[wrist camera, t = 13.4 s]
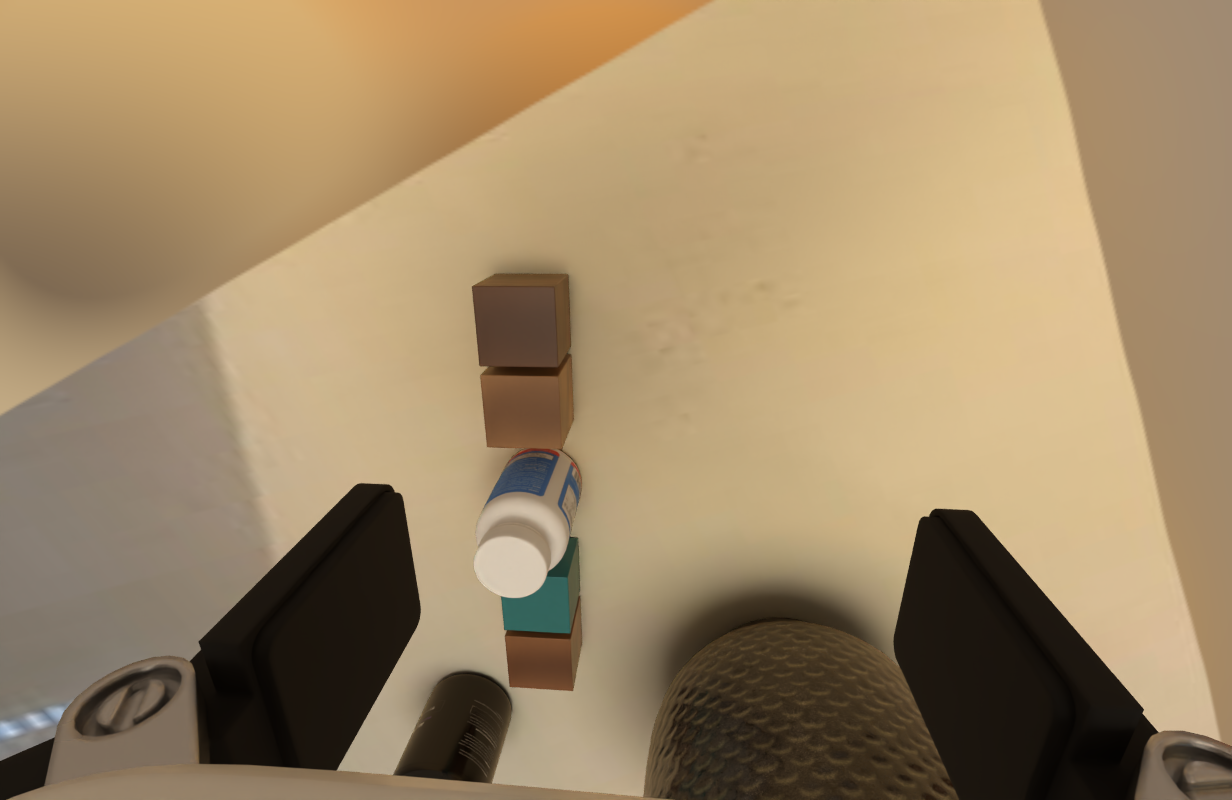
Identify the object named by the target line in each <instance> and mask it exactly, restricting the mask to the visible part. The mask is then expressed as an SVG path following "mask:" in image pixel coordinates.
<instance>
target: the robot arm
mask: <svg viewBox="0 0 1232 800" xmlns="http://www.w3.org/2000/svg"><path fill="white" fill-rule="evenodd" d="M420 613H421V606H420V600H419V593H418V587H417V581H416V575H415V569H414V563H413V557H412V550H411V544H410V538H409V532H408V526H407V520H406V514H405V508H404V501H403V497H402V495H401V494H400V493H395V492H394V489H393V488H392V486H390V485H387V484H364V483H361V484H357V485H356V486H354V487H353V488H352V489H351V490H350V491H349V492H348V493H347V494H346V495H345V496H344V497H343V498H342V499H341V500H340V501H339V502H338V503H337V504H336V505H335V506H334V507H333V508H332V509H331V510H330V511H329V512H328V513H327V514H326V515H325V516H324V517H323V518H322V519H321V520H320V521H319V522H318V523H317V524H316V525H315V526H314V527H313V528H312V529H311V530H310V531H309V532H308V533H307V534H306V535H305V536H304V537H303V538H302V539H301V540H300V541H299V542H298V543H297V544H296V545H295V546H294V547H293V548H292V549H291V550H290V551H289V552H288V553H287V554H286V555H285V556H284V557H283V558H282V559H281V560H280V561H279V562H278V563H277V564H276V565H275V566H274V567H273V568H272V569H271V570H270V571H269V572H268V573H267V574H266V575H265V576H264V577H263V578H262V579H261V580H260V581H259V582H258V583H257V584H256V585H255V586H254V587H253V588H252V589H251V590H250V591H249V592H248V593H247V594H246V595H245V596H244V597H243V598H242V599H241V600H240V601H239V602H238V603H237V604H236V605H235V606H234V607H233V608H232V609H231V610H230V611H229V612H228V613H227V614H226V615H225V616H224V617H223V618H222V619H221V620H220V621H219V622H218V623H217V624H216V625H215V626H214V627H213V628H212V629H211V630H210V631H209V632H208V633H207V634H206V635H205V636H204V637H203V638H202V639H201V640H200V641H199V644H200V647H201V650H200V651H199V652H198V653H197V654H196V656H195V657H194V658H193V659H192V660H191V661H190V662H189V661H187V660H186V659H184V658H181V657H175V656H161V657H152V658H148V659H145V660H141V661H138V662H134V663H132V664H129V665H127V666H125V667H122V668H120V669H118V670H116V671H113V672H112V673H110V674H108V675H107V676H105V677H103V678H102V679H100V680H98V681H97V682H95V683H93V684H92V685H91V686H90V687H88V688H87V689H86V690H85V691H83V692H82V693H81V694H80V695H79V696H77V697H76V698H75V699H74V701H73V702H72V703H71V704H70V705H69V706H68V708H67V709H66V710H65V711H64V713H63V715H62V717H61V719H60V721H59V724H58V726H57V730H56V735H55V738H52V739H50V740H48V741H45V742H43V743H41V744H39V745H36V746H34V747H32V748H29V749H27V750H25V751H22V752H20V753H18V754H16V755H13V756H11V757H9V758H6V759H4V760H2V761H0V800H670V799H659V798H648V797H637V796H626V795H615V794H604V793H593V792H581V791H570V790H559V789H548V788H537V787H526V786H514V785H502V784H491V783H479V782H467V781H455V780H443V779H431V778H420V777H408V776H396V775H384V774H372V773H360V772H348V771H336V770H337V769H338V767H339V765H340V763H341V761H342V760H343V758H344V756H345V754H346V753H347V751H348V749H349V747H350V745H351V744H352V742H353V740H354V738H355V736H356V735H357V733H358V731H359V729H360V728H361V726H362V724H363V722H364V720H365V719H366V717H367V715H368V713H369V712H370V710H371V708H372V706H373V704H374V703H375V701H376V699H377V697H378V696H379V694H380V692H381V690H382V688H383V687H384V685H385V683H386V681H387V679H388V678H389V676H390V674H391V672H392V671H393V669H394V667H395V665H396V663H397V662H398V660H399V658H400V656H401V655H402V653H403V651H404V649H405V647H406V646H407V644H408V642H409V640H410V639H411V637H412V635H413V633H414V631H415V630H416V628H417V625H418V623H419V619H420ZM894 652H895V656H896V659H897V662H898V664H899V666H900V668H901V671H902V673H903V675H904V677H905V679H906V682H907V684H908V686H909V688H910V691H911V693H912V695H913V697H914V700H915V702H916V704H917V706H918V709H919V711H920V713H921V715H922V718H923V720H924V722H925V724H926V727H927V729H928V731H929V733H930V735H931V738H932V740H933V742H934V744H935V747H936V749H937V751H938V753H939V756H940V758H941V760H942V762H943V765H944V767H945V769H946V771H947V774H948V776H949V778H950V780H951V782H952V785H953V787H954V789H955V791H956V794H957V796H958V798H959V800H1232V746H1230V745H1227V744H1225V743H1222V742H1220V741H1217V740H1214V739H1212V738H1209V737H1207V736H1203V735H1199V734H1194V733H1190V732H1186V731H1162V732H1160V733H1159V732H1158V731H1157V730H1156V729H1155V728H1154V727H1153V725H1152V724H1151V723H1150V722H1149V721H1148V720H1147V718H1146V717H1145V716H1144V715H1143V714H1142V713H1143V711H1144V709H1143V708H1142V707H1141V705H1140V704H1139V703H1138V702H1137V701H1136V700H1135V698H1134V697H1133V696H1132V695H1131V694H1130V693H1129V691H1128V690H1127V689H1126V688H1125V687H1124V686H1123V684H1122V683H1121V682H1120V681H1119V680H1118V679H1117V677H1116V676H1115V675H1114V674H1113V673H1112V672H1111V671H1110V669H1109V668H1108V667H1107V666H1106V665H1105V664H1104V662H1103V661H1102V660H1101V659H1100V658H1099V657H1098V655H1097V654H1096V653H1095V652H1094V651H1093V650H1092V648H1091V647H1090V646H1089V645H1088V644H1087V643H1086V641H1085V640H1084V639H1083V638H1082V637H1081V636H1080V634H1079V633H1078V632H1077V631H1076V630H1075V629H1074V628H1073V626H1072V625H1071V624H1070V623H1069V622H1068V621H1067V619H1066V618H1065V617H1064V616H1063V615H1062V614H1061V612H1060V611H1059V610H1058V609H1057V608H1056V607H1055V605H1054V604H1053V603H1052V602H1051V601H1050V600H1049V598H1048V597H1047V596H1046V595H1045V594H1044V593H1043V591H1042V590H1041V589H1040V588H1039V587H1038V586H1037V585H1036V583H1035V582H1034V581H1033V580H1032V579H1031V578H1030V576H1029V575H1028V574H1027V573H1026V572H1025V571H1024V569H1023V568H1022V567H1021V566H1020V565H1019V564H1018V562H1017V561H1016V560H1015V559H1014V558H1013V557H1012V555H1011V554H1010V553H1009V552H1008V551H1007V550H1006V548H1005V547H1004V546H1003V545H1002V544H1001V543H1000V542H999V540H998V539H997V538H996V537H995V536H994V535H993V533H992V532H991V531H990V530H989V529H988V528H987V526H986V525H985V524H984V523H983V522H982V521H981V519H980V518H979V517H978V516H977V515H976V514H975V513H974V512H973V511H970V510H952V509H934V510H933V511H932V512H931V514H930V516H929V517H922V518H921V519H920V521H919V524H918V528H917V533H916V537H915V542H914V547H913V551H912V556H911V560H910V565H909V569H908V574H907V579H906V583H905V588H904V592H903V597H902V602H901V606H900V611H899V615H898V620H897V624H896V629H895V634H894Z"/></svg>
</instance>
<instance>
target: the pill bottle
mask: <svg viewBox="0 0 1232 800" xmlns="http://www.w3.org/2000/svg"><path fill="white" fill-rule="evenodd" d="M581 487H582V482H581V476H580V473H579V470H578V468H577V466H576V465H575V463H574V462H573V460H572V459H571V458H570V457H569V456H567V455H566V454H565V453H563V452H562V451H560V450H558V449H533V448H525V449H523V450H521V451H519V452H518V453H516V454H515V455H514V456H513V457H512V458H511V459H510V461H509V462H508V463H507V465H506V467H505V469H504V471H503V472H502V474H501V476H500V478H499V480H498V482H497V483H496V485H495V487H494V489H493V491H492V493H491V495H490V497H489V499H488V500H487V502H486V504H485V506H484V508H483V510H482V512H481V514H480V516H479V519H478V521H477V525H476V541H477V544H478V549H477V551H476V553H475V557H474V570H475V573H476V576H477V578H478V579H479V581H480V582H481V583H482V584H483V585H484V586H485V587H486V588H487V589H488V590H490V591H491V592H493V593H495V594H497V595H500V596H503V597H507V598H521V597H525V596H528V595H531V594H533V593H534V592H536V591H537V590H538V589H539V588H540V587H541V586H542V585H543V583H544V581H545V579H546V576H547V573H548V571H549V570H551V569H552V568H554V567H555V566H556V565H557V564H558V563H559V561H560V560H561V559H562V557H563V555H564V553H565V551H566V548H567V545H568V541H569V538H570V534H571V530H572V526H573V522H574V518H575V514H576V510H577V506H578V502H579V499H580V494H581Z"/></svg>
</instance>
